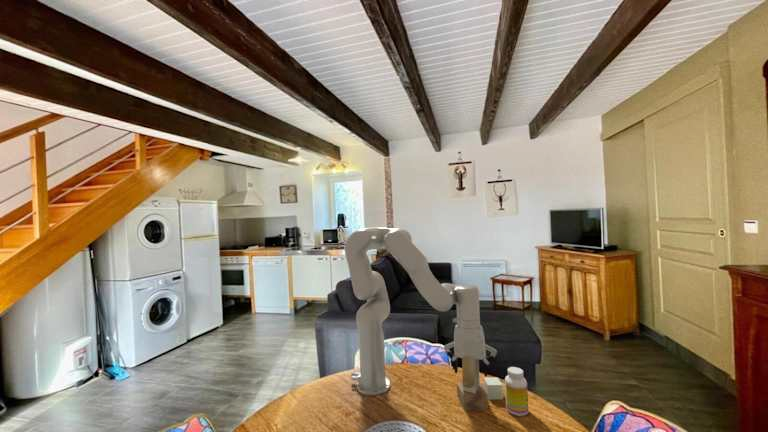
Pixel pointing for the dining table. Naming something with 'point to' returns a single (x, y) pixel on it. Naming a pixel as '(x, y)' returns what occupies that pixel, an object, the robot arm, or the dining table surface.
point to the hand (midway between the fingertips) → (470, 373)
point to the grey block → (493, 388)
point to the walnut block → (472, 398)
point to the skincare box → (470, 374)
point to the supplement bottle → (516, 392)
